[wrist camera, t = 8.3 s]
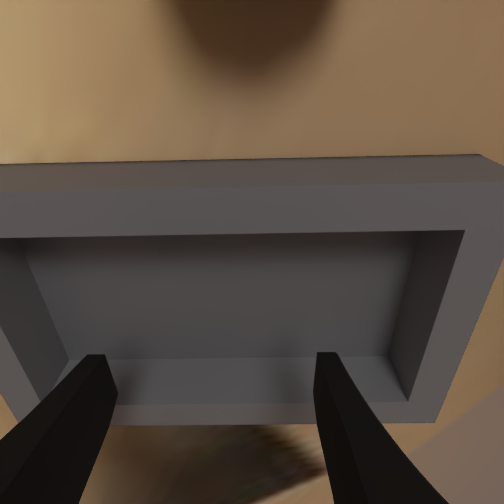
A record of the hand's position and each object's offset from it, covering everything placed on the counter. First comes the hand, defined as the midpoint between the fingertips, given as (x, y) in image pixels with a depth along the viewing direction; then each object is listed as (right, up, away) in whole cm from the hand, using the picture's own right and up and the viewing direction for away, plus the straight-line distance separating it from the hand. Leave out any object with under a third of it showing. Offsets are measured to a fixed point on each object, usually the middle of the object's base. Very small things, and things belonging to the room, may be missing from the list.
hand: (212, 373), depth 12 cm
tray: (0, +3, +4) cm, 5 cm away
